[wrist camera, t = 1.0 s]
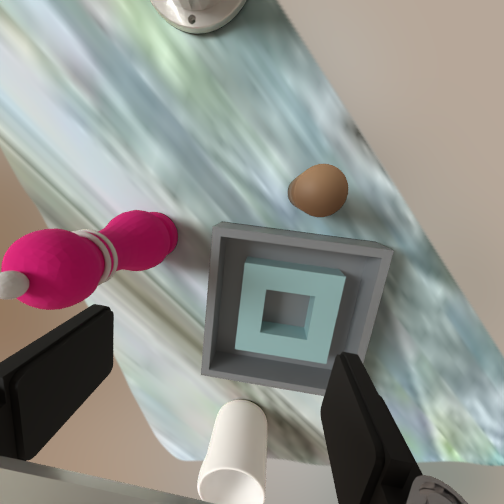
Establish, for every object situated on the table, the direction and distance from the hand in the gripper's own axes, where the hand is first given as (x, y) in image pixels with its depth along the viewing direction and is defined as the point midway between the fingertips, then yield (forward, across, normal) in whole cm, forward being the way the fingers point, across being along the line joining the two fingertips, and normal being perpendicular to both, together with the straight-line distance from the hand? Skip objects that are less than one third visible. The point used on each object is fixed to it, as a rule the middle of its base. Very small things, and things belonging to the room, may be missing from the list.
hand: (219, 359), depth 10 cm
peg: (+23, -5, -7) cm, 25 cm away
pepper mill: (+24, +14, +1) cm, 27 cm away
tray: (+23, -5, +8) cm, 25 cm away
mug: (+23, -1, +31) cm, 39 cm away
